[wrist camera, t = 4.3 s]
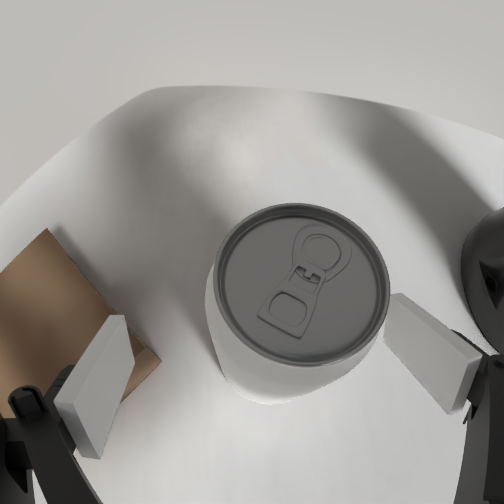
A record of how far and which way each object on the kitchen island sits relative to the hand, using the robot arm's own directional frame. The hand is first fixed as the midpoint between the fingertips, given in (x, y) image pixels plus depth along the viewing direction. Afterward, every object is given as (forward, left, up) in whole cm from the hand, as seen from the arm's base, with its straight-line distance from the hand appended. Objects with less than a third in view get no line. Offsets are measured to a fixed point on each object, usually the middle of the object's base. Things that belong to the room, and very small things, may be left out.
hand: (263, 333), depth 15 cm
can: (-1, +1, -6) cm, 6 cm away
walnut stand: (+10, -10, -6) cm, 16 cm away
